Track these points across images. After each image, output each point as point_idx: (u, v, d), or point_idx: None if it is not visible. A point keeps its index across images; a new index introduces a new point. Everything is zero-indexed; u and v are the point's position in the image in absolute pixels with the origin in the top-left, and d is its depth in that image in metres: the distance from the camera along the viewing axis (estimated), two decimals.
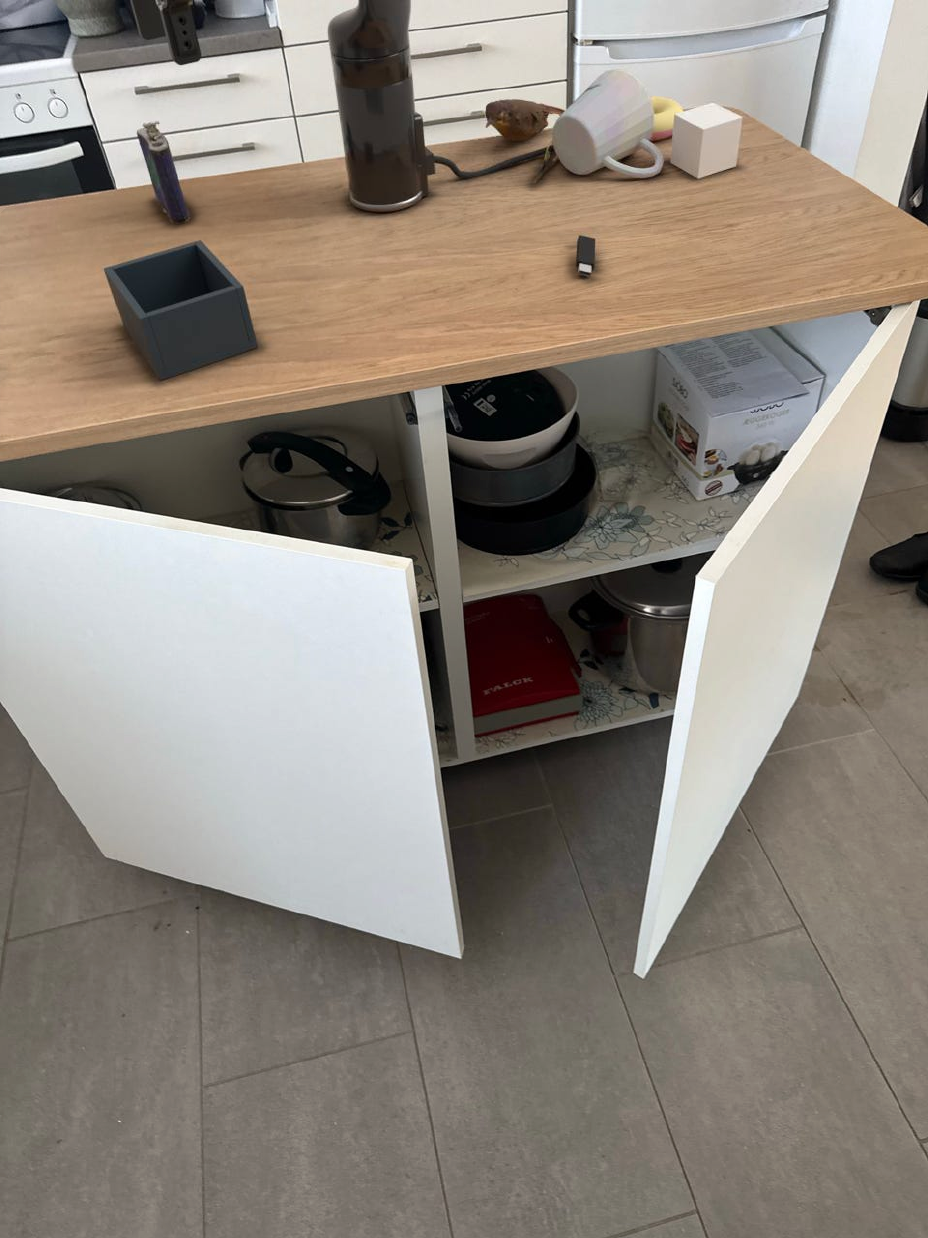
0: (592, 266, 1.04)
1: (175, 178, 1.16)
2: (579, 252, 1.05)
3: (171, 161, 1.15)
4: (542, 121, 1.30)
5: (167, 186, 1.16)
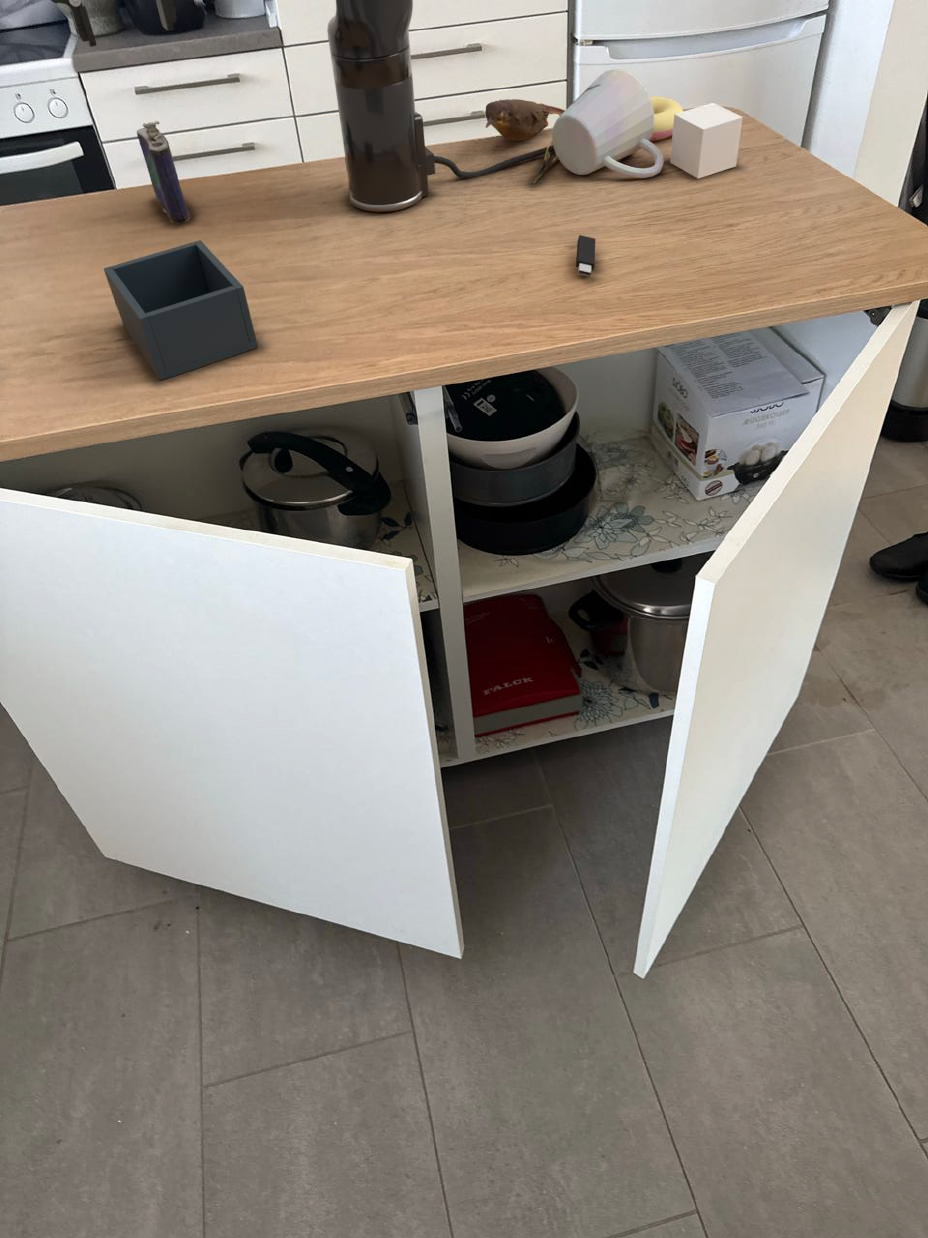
0: (592, 266, 1.04)
1: (175, 178, 1.16)
2: (579, 252, 1.05)
3: (171, 161, 1.15)
4: (542, 121, 1.30)
5: (167, 186, 1.16)
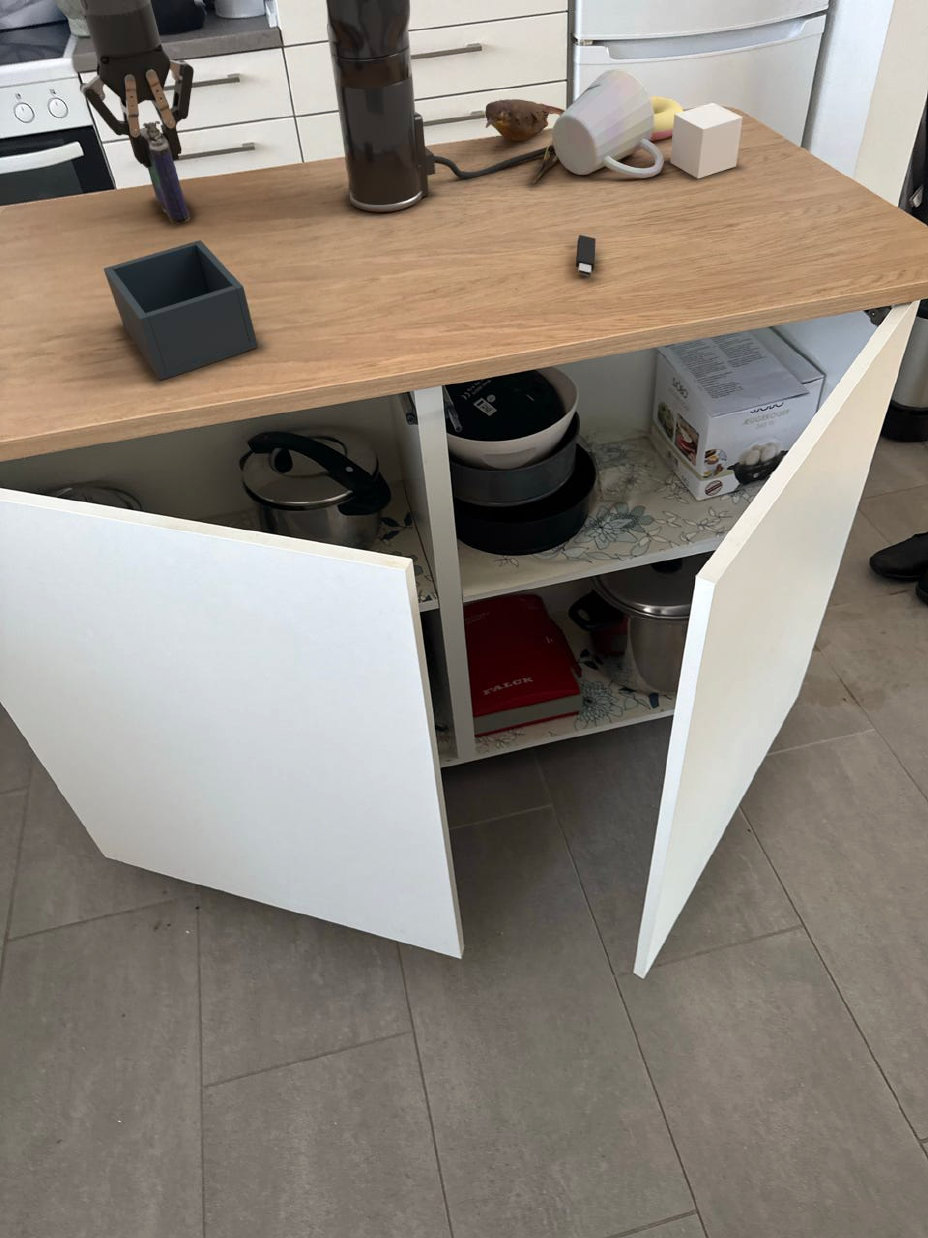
0: (592, 266, 1.04)
1: (175, 178, 1.16)
2: (579, 252, 1.05)
3: (171, 161, 1.15)
4: (542, 121, 1.30)
5: (167, 186, 1.16)
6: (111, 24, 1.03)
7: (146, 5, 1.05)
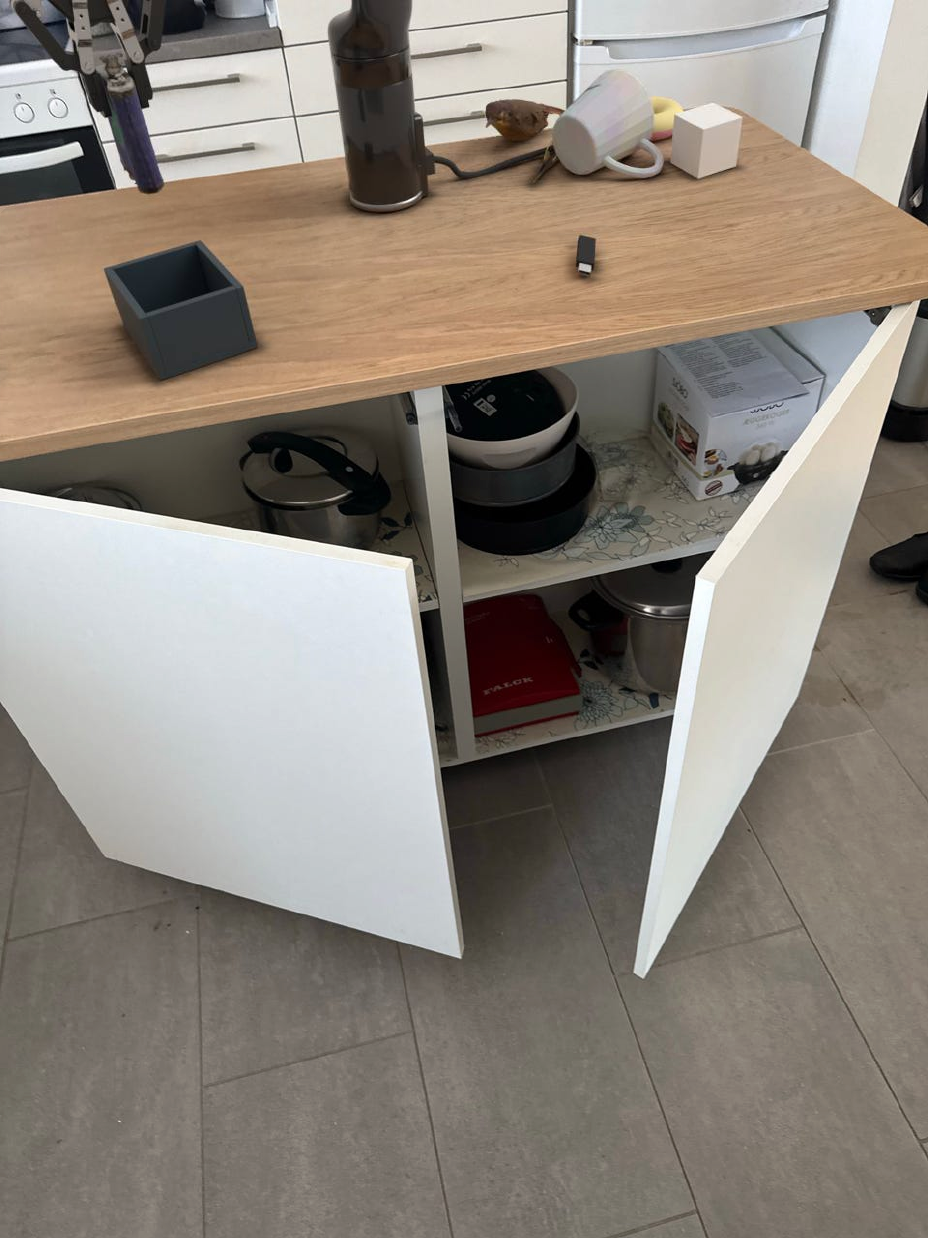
0: (592, 266, 1.04)
1: (144, 132, 0.86)
2: (579, 252, 1.05)
3: (138, 107, 0.84)
4: (542, 121, 1.30)
5: (132, 142, 0.85)
6: None
7: None
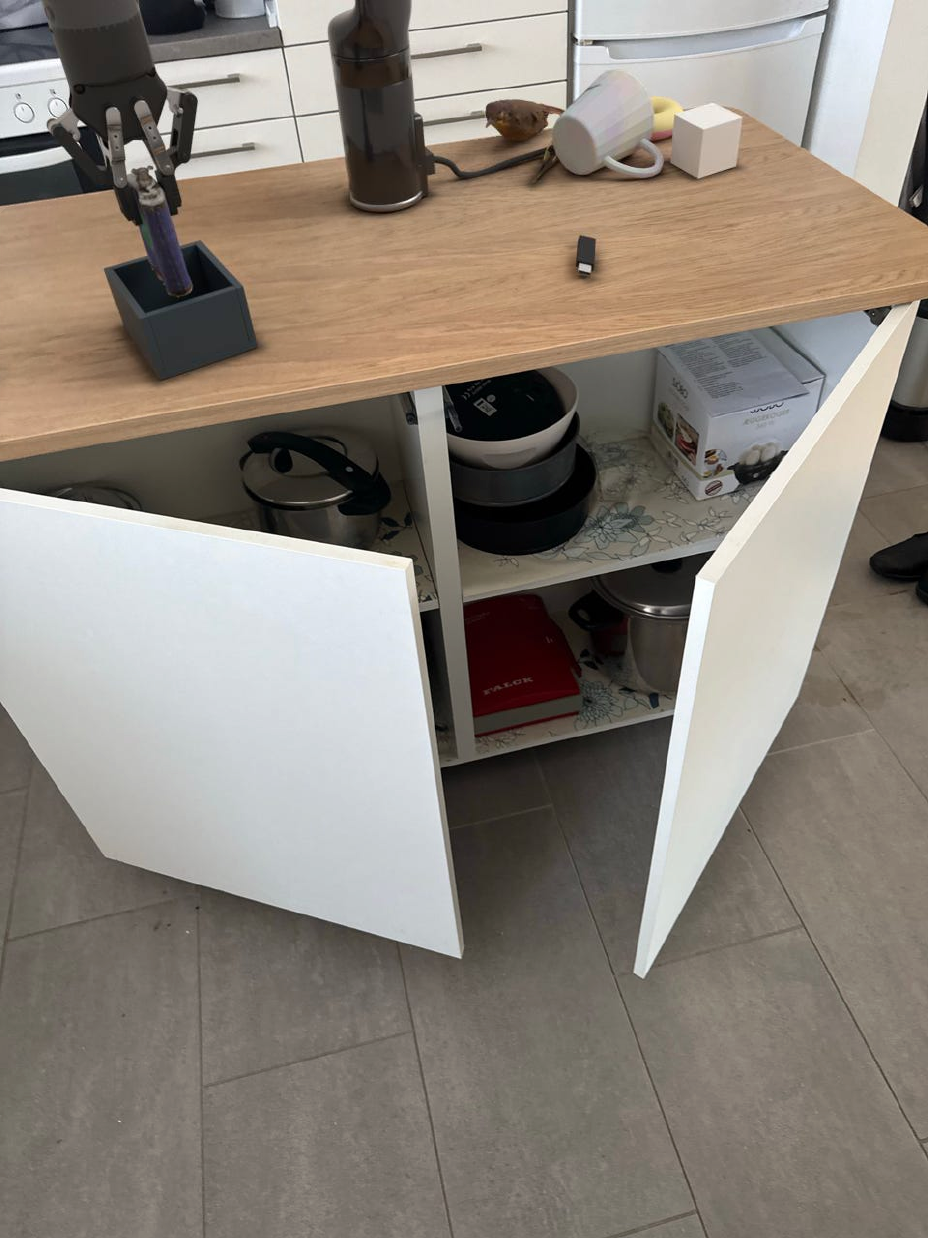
0: (592, 266, 1.04)
1: (174, 240, 0.89)
2: (579, 252, 1.05)
3: (169, 218, 0.87)
4: (542, 121, 1.30)
5: (163, 250, 0.89)
6: (86, 41, 0.76)
7: (134, 16, 0.77)
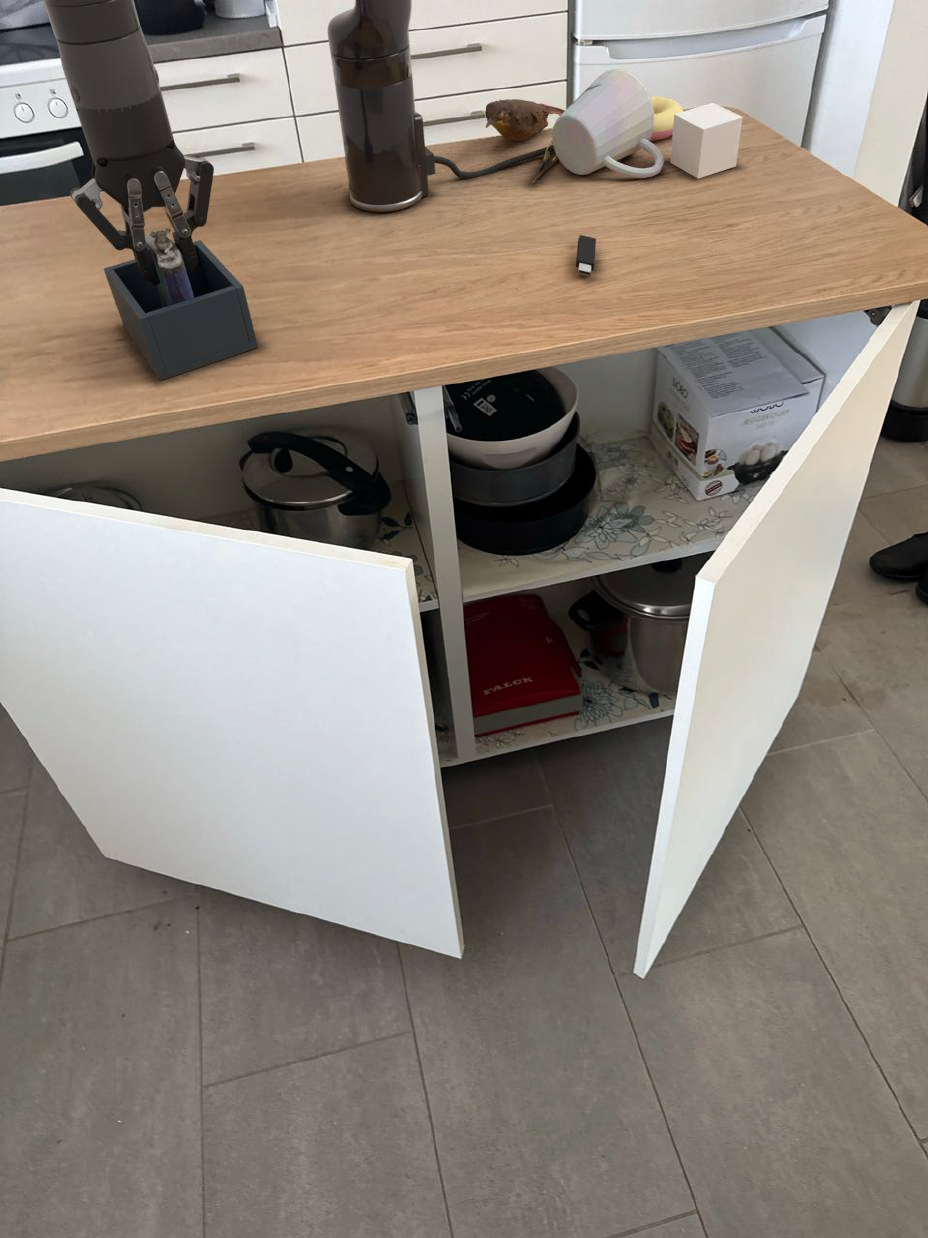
0: (592, 266, 1.04)
1: None
2: (579, 252, 1.05)
3: (186, 279, 0.92)
4: (542, 121, 1.30)
5: None
6: (110, 120, 0.81)
7: (155, 95, 0.82)
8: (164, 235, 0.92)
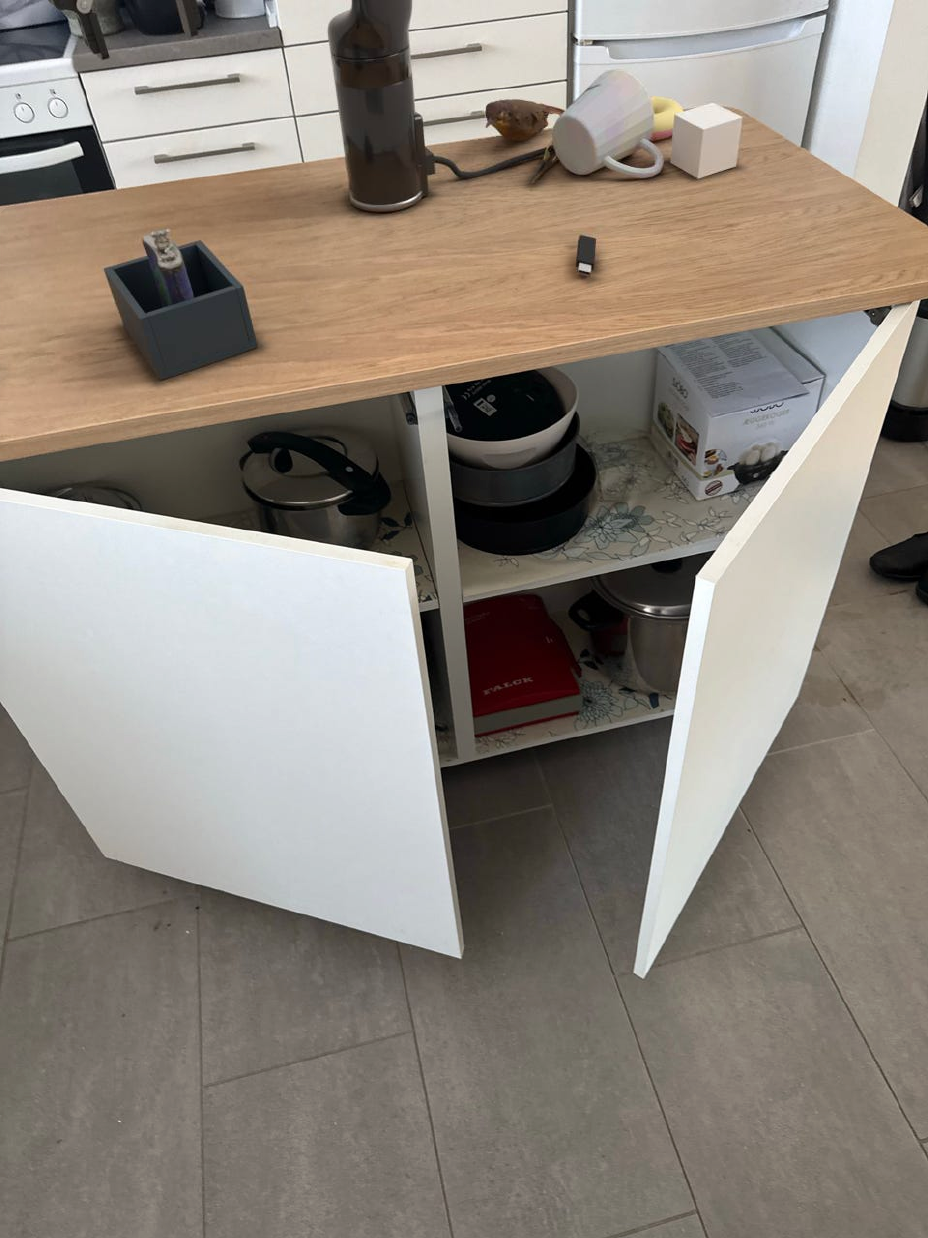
0: (592, 266, 1.04)
1: None
2: (579, 252, 1.05)
3: (186, 279, 0.92)
4: (542, 121, 1.30)
5: None
6: None
7: None
8: (164, 235, 0.92)
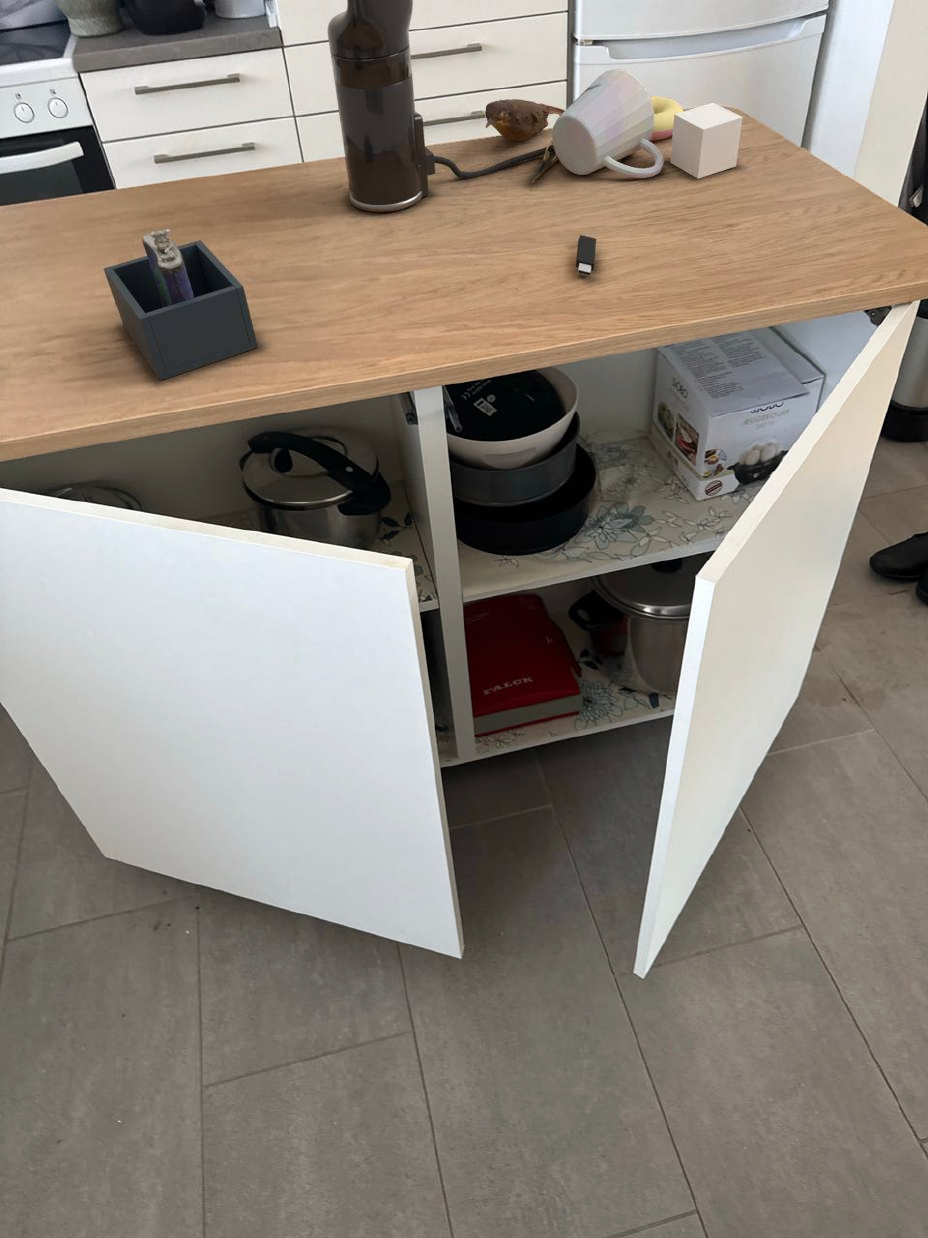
0: (592, 266, 1.04)
1: None
2: (579, 252, 1.05)
3: (186, 279, 0.92)
4: (542, 121, 1.30)
5: None
6: None
7: None
8: (164, 235, 0.92)
